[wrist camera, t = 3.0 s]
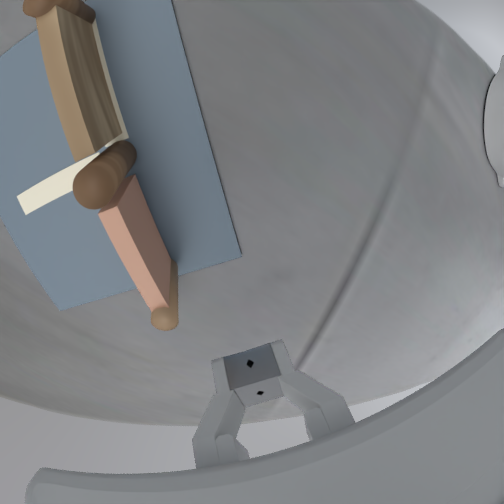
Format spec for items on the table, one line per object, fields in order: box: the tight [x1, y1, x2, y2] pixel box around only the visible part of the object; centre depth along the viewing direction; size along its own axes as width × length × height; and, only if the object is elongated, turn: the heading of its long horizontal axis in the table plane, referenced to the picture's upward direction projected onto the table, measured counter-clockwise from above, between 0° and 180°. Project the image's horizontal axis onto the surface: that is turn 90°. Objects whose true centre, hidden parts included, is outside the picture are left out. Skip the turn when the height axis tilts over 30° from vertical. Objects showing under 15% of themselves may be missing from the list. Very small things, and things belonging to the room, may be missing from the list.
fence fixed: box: [23, 0, 137, 210], centre depth 11 cm, size 2×13×7 cm, turn 13°
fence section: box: [98, 174, 178, 331], centre depth 17 cm, size 2×9×6 cm, turn 12°
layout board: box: [0, 0, 242, 311], centre depth 16 cm, size 19×24×1 cm
